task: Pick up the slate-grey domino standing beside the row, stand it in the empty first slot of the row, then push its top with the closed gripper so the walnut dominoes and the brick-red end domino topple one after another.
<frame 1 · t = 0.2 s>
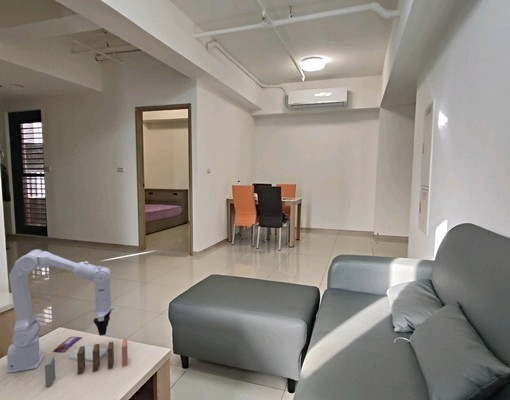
hand: (103, 330, 125), 10 cm above the table, tool pointing down, fingers open, 7 cm apart
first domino: (50, 382, 108), on the table
domino 4: (110, 365, 118), on the table
domino 2: (81, 370, 115), on the table
snack package: (68, 346, 132), on the table
hard drive: (89, 356, 125), on the table
domino 3: (96, 367, 117), on the table
domino 5: (124, 362, 120), on the table
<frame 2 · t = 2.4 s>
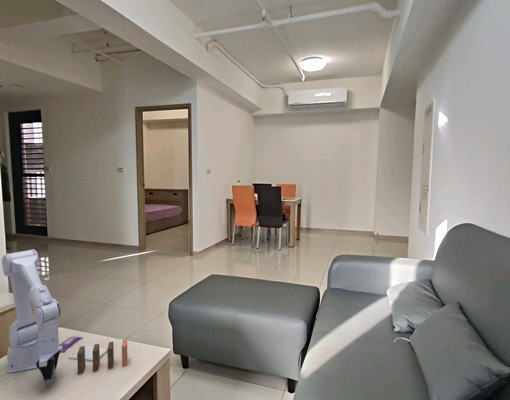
hand: (50, 374, 108), 3 cm above the table, tool pointing down, fingers closed on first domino, 5 cm apart
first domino: (50, 381, 108), on the table, touching gripper
everything else where it was.
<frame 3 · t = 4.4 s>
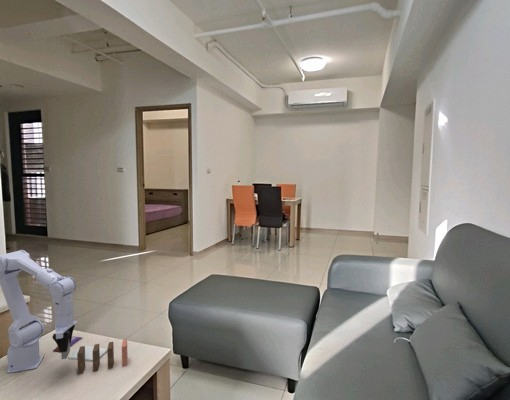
hand: (65, 347, 112), 10 cm above the table, tool pointing down, fingers closed on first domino, 5 cm apart
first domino: (65, 355, 113), point 7 cm above the table, touching gripper
everything else where it was.
when the fingers open (3 cm above the table, at t = 6.3 s): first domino stays where it is, on the table.
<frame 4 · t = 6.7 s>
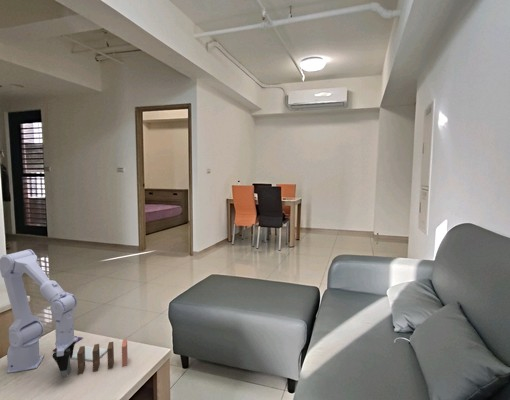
hand: (66, 363, 113), 3 cm above the table, tool pointing down, fingers open, 7 cm apart
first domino: (66, 372, 113), on the table
everything else where it was.
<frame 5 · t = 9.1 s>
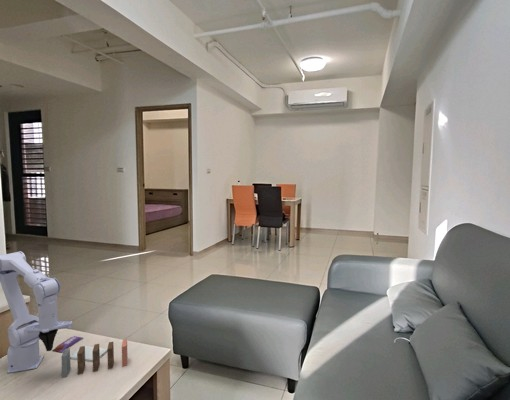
hand: (49, 349, 111), 10 cm above the table, tool pointing down, fingers closed
nothing on the table moved.
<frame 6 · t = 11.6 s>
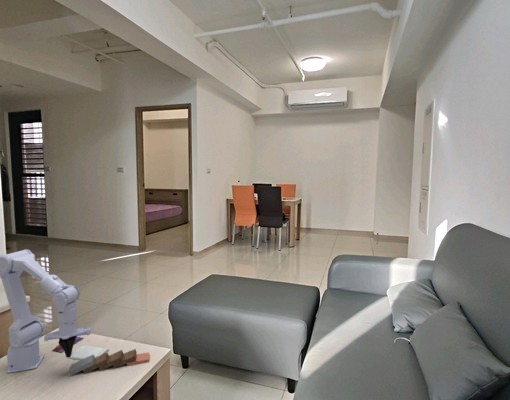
hand: (68, 355, 113), 6 cm above the table, tool pointing down, fingers closed
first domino: (70, 369, 114), point 1 cm above the table, tilted 71°, touching domino 2
domino 4: (114, 362, 118), point 1 cm above the table, tilted 75°, touching domino 3
domino 2: (85, 367, 115), point 1 cm above the table, tilted 71°, touching domino 3, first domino
domino 3: (100, 364, 117), point 1 cm above the table, tilted 71°, touching domino 2, domino 4
domino 5: (127, 361, 120), on the table, tilted 90°
everything else where it was.
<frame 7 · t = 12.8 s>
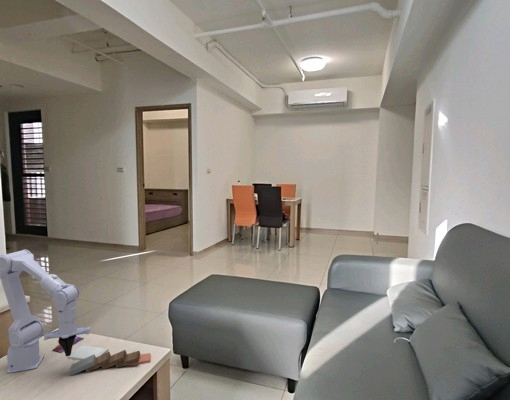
hand: (68, 354, 113), 7 cm above the table, tool pointing down, fingers closed
domino 4: (117, 362, 119), point 1 cm above the table, tilted 77°, touching domino 3, domino 5
domino 2: (87, 367, 116), point 1 cm above the table, tilted 71°, touching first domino
domino 3: (103, 363, 118), point 1 cm above the table, tilted 70°, touching domino 4
domino 5: (128, 361, 120), on the table, tilted 90°, touching domino 4
everything else where it was.
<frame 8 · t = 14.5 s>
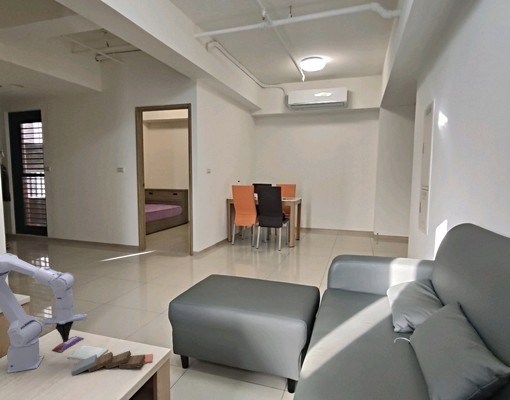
hand: (65, 340, 117), 10 cm above the table, tool pointing down, fingers closed
domino 4: (122, 362, 118), point 1 cm above the table, tilted 81°, touching domino 3, domino 5
domino 3: (108, 363, 118), point 1 cm above the table, tilted 71°, touching domino 4
at the end: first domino 1.1 cm from the target spot, point 0.7 cm above the table; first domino tilted 73°; domino 5 tilted 90° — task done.
